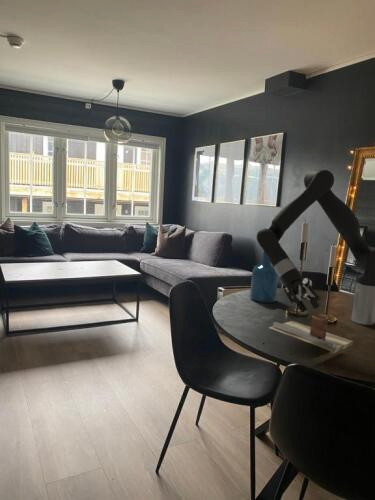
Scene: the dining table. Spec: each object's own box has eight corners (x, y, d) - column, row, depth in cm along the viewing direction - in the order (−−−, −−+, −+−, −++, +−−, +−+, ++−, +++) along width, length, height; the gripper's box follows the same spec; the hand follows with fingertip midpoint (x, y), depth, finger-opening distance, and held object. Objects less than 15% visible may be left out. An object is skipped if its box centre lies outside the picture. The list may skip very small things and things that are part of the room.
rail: (275, 326, 150) (275, 321, 150) (334, 347, 132) (335, 342, 132) (272, 327, 149) (273, 321, 149) (332, 348, 131) (333, 343, 130)
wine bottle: (281, 302, 193) (287, 243, 189) (261, 304, 186) (267, 243, 182) (262, 295, 204) (268, 239, 200) (243, 297, 197) (248, 239, 193)
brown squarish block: (315, 336, 142) (318, 312, 141) (325, 339, 139) (328, 315, 138) (309, 338, 140) (312, 314, 138) (319, 341, 137) (322, 317, 135)
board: (291, 324, 159) (292, 320, 159) (352, 345, 140) (353, 341, 139) (267, 331, 149) (268, 327, 148) (330, 354, 129) (330, 350, 129)
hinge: (295, 289, 222) (303, 274, 220) (303, 293, 221) (311, 278, 219) (295, 296, 206) (304, 280, 204) (304, 300, 205) (312, 284, 203)
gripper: (283, 268, 141) (307, 307, 134) (304, 266, 150) (328, 301, 143) (270, 280, 145) (293, 317, 138) (291, 276, 155) (314, 311, 148)
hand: (311, 309), depth 141 cm, fingers open, 8 cm apart
